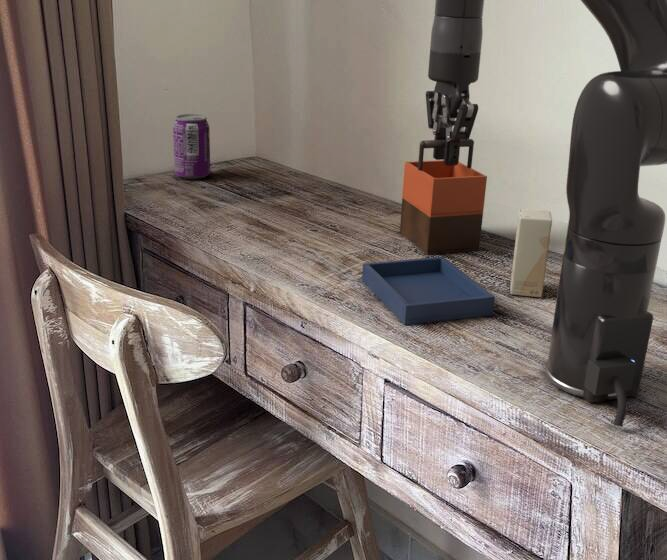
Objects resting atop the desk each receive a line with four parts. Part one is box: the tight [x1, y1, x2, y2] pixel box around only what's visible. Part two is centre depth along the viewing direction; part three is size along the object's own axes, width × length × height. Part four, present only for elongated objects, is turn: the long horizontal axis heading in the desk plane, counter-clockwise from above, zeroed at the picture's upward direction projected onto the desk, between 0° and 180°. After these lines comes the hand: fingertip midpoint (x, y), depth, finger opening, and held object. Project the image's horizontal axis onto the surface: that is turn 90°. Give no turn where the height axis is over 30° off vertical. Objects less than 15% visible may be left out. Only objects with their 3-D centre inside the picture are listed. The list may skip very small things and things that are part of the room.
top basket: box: [401, 138, 488, 217], centre depth 128 cm, size 11×9×11 cm
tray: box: [361, 256, 496, 326], centre depth 109 cm, size 15×12×3 cm
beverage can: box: [172, 113, 211, 180], centre depth 162 cm, size 7×7×12 cm
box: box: [509, 208, 553, 298], centre depth 112 cm, size 5×4×11 cm
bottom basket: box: [399, 198, 484, 255], centre depth 131 cm, size 11×9×6 cm
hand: (445, 161), depth 127 cm, fingers open, 3 cm apart
